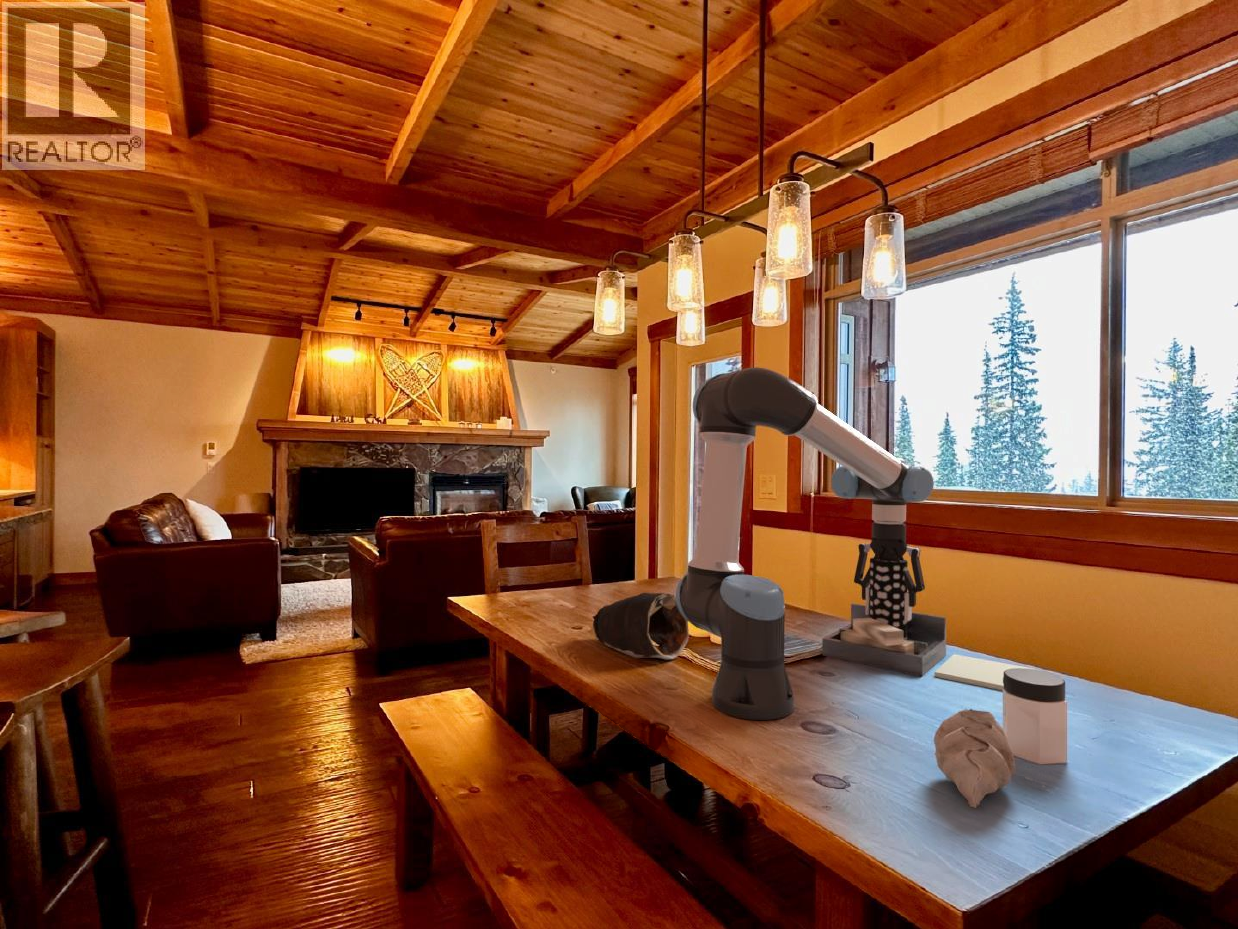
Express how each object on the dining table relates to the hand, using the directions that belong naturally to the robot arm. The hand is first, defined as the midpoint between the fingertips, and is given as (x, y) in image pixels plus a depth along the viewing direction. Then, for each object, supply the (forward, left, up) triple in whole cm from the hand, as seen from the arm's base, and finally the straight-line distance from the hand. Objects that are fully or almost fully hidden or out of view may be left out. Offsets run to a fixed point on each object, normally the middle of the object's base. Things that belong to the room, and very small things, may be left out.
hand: (888, 616), depth 150 cm
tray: (-2, +3, -8) cm, 9 cm away
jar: (-49, +15, -9) cm, 52 cm away
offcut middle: (-5, +7, -6) cm, 11 cm away
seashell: (-55, +33, -9) cm, 64 cm away
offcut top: (-5, +7, -3) cm, 9 cm away
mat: (-20, -8, -8) cm, 23 cm away
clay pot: (+22, +57, -9) cm, 62 cm away
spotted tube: (0, 0, -7) cm, 7 cm away
